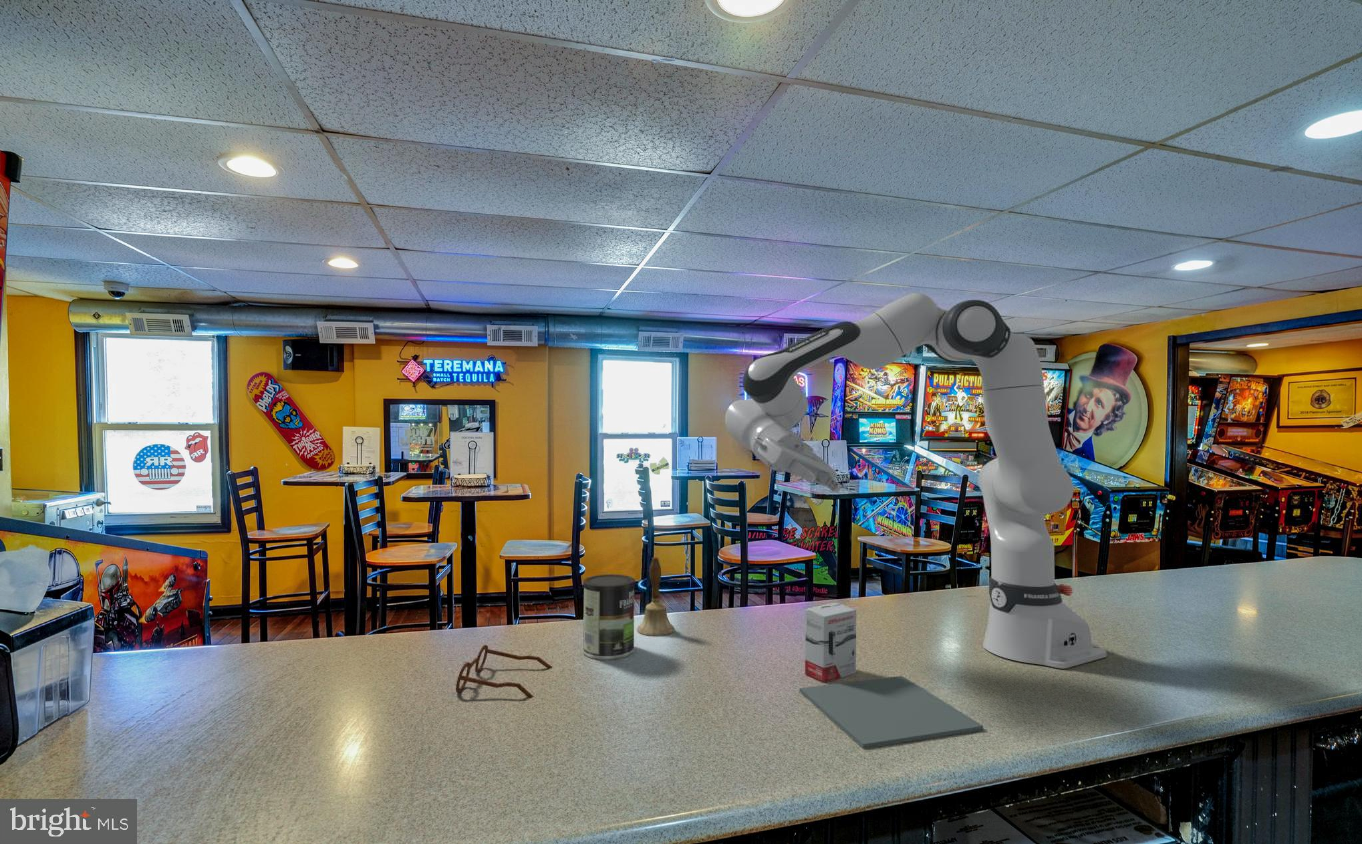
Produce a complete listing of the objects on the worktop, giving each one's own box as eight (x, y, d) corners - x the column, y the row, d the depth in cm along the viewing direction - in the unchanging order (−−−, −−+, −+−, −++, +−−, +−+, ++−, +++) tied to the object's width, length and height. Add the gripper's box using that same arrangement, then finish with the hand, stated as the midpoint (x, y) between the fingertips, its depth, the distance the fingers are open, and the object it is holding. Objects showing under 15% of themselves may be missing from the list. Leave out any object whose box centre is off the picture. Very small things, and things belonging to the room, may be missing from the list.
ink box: (824, 683, 104) (824, 615, 104) (803, 674, 108) (803, 608, 108) (857, 673, 109) (857, 607, 109) (836, 664, 113) (836, 601, 113)
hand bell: (666, 638, 127) (666, 562, 128) (630, 633, 130) (631, 559, 130) (679, 626, 135) (680, 555, 135) (646, 622, 138) (646, 553, 138)
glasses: (482, 668, 111) (483, 641, 112) (552, 669, 111) (552, 642, 111) (453, 699, 98) (454, 668, 98) (532, 700, 98) (532, 669, 98)
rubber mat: (902, 679, 106) (902, 675, 106) (983, 730, 88) (983, 725, 88) (799, 691, 101) (799, 688, 101) (863, 748, 82) (862, 744, 82)
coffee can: (642, 645, 123) (642, 576, 123) (621, 663, 113) (622, 588, 113) (597, 639, 126) (597, 572, 126) (573, 656, 116) (573, 583, 117)
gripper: (758, 422, 118) (805, 458, 108) (813, 447, 132) (859, 481, 122) (741, 449, 119) (787, 487, 109) (797, 471, 133) (842, 506, 123)
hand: (825, 484), depth 116 cm, fingers open, 8 cm apart
